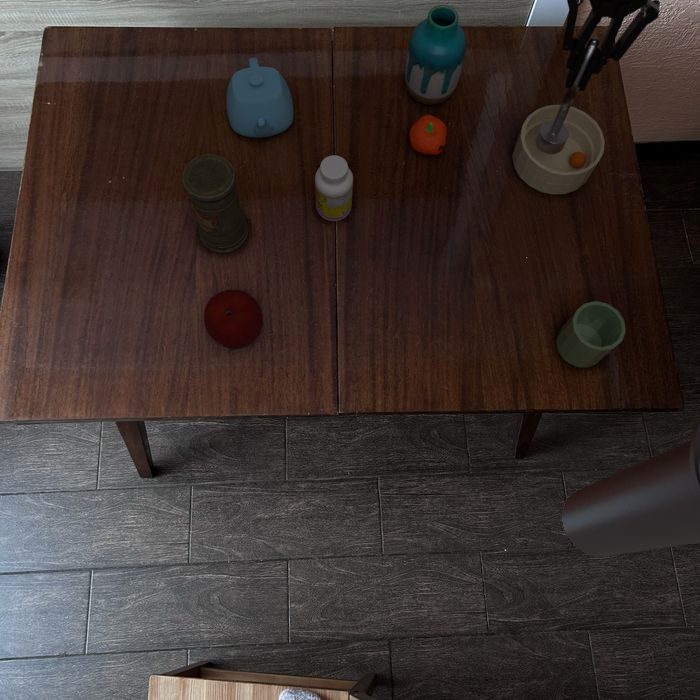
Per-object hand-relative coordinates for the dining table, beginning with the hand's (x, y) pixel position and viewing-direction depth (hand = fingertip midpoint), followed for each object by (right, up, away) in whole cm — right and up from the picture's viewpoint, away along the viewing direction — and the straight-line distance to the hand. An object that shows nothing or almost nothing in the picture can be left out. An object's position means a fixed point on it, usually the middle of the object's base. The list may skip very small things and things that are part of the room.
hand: (575, 82), depth 113 cm
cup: (+3, -43, +7) cm, 43 cm away
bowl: (+2, -7, +20) cm, 21 cm away
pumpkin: (-22, -4, +21) cm, 30 cm away
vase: (-21, +7, +25) cm, 33 cm away
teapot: (-54, +1, +21) cm, 58 cm away
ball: (+6, -8, +18) cm, 20 cm away
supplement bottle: (-40, -17, +15) cm, 46 cm away
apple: (-56, -40, +6) cm, 69 cm away
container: (-60, -22, +13) cm, 65 cm away
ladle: (-1, -6, +12) cm, 14 cm away
